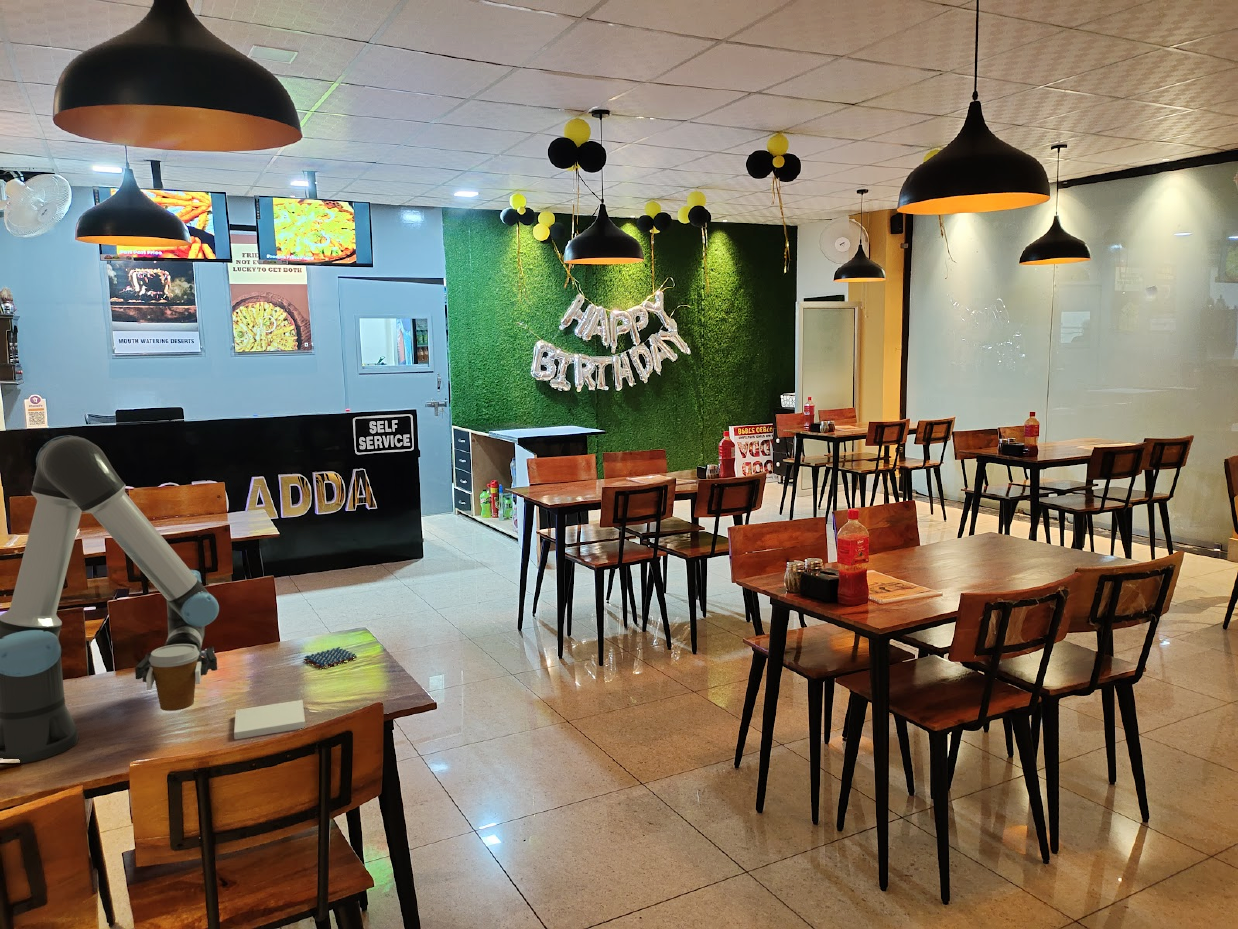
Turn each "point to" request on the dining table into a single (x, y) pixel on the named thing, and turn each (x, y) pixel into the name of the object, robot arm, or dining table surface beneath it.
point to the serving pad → (269, 719)
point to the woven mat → (329, 657)
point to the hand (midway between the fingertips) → (173, 680)
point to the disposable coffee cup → (175, 675)
